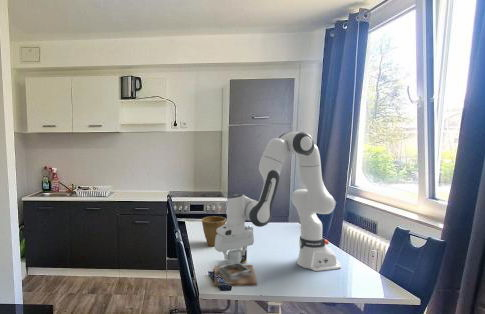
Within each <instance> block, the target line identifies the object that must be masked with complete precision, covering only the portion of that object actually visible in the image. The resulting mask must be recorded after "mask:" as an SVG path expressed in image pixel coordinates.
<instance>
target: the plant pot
mask: <svg viewBox="0 0 485 314" xmlns="http://www.w3.org/2000/svg"><path fill="white" fill-rule="evenodd" d="M226 220H227V217H223V216H215V215H214V216H205V217H203V218H202V219H201V224H202V230H203V233H204V238H205V240H206V243H207V245H208V246H210V247H215V238H216V235H217V234H218V233H217V232H216V231H217V228H219V227H221V226H223V225H224V224H226Z"/></svg>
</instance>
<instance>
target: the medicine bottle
mask: <svg viewBox="0 0 485 314" xmlns="http://www.w3.org/2000/svg"><path fill="white" fill-rule="evenodd" d="M236 249H237V250H242V249H243V247H240V248H236ZM247 251H248V248H247V249H246V251H245V255H243V256H242V260H241V261H240V263H241V264H245V263H247V262H248V261H247V260H248V258H247V257H248V252H247Z"/></svg>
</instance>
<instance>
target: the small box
mask: <svg viewBox="0 0 485 314" xmlns="http://www.w3.org/2000/svg"><path fill="white" fill-rule="evenodd" d="M227 255H229V259H227V263H228V264H231V263H234V264H239V263H240V261H241V260H242V250H237V249H231V250H228V251H227Z"/></svg>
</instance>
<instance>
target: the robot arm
mask: <svg viewBox="0 0 485 314" xmlns="http://www.w3.org/2000/svg"><path fill="white" fill-rule="evenodd" d="M289 154H291V155H297V157H298V167H299V169H298V170H299V180H300V182H301V183H302V184H303V185H304V187H305V188H301V189H300V188H298V189H296V190H294V191H293V193H292V195H291V202H292V204H293V206H294V207H295V209H296V210H297V214H298V217H299V221H300V236H299V241H298V243H299V253H298V257H297V259H296V263H297V265H298V266H300V267H302V268H305V269H309V270H312V271H314V272H320V271H329V270H337V269H338V270H339V269H341V268H342V264H341V262H340V261H339V260H337V255H336V253H335V252H334V251H333V250H332V249H331V248H330V247H329V246H327V245H329V243H330V242H329V240H328V239H326V238H324V237H323V223H322V221H321V220H320V218H319V217H318V215H317V214H319V215H331V214H332V213H333V211H334V209H335V207H336V201H335V198H334V197H333V195H332V194H330V193H329V191H328V190H327V188H326V186H325V184H324V180H323V174H322V173H323V172H322V163H321V155H320V150H319V148H318V146H317V145H316V144H315V143H314V139H313V137H312V136H311V134H309V133H307V132H305V131H304V132H303V131H292V132H284V133H282V134H281V135H280V136H279V137H274V138H272V139H270V140H269V142H268V143H267V145H266V147H265V149H264V150H263V153H262V155H261V158H260V161H259V165H258V171H259V173H260V175H261V176H262V180H263V187H262V190H261V192H260V196H259V199H258V201H257V200H256V199H253V198H250V197H248V196H246V195H245V194H244V193H233V194H230V195H229V196H228V198H227V200H226V223H225V224H224V225H223V226H221V227H219V228H217V231H216V232H217V233H218V234H217V235H216V238H215V246H214V250H215V251H217V252H219V253H220V252H222V253H223V255H224V260H225V261H228V259H229V255H228V251H230V250H231V249H236V248H240V247H243V249H242V256H243V255H245V251H246V249H247V250H248V247H249V246H252V245H253V244H254V243H255V238H254V237H255V236H254V228H253V226H251V225H248V226H247V225H246V220H247V221H248V220H249V222H251V224H252V225H254V226H255V227H259V228H261V227H265V226H267V225H268V224H269V223H270V222H271V219H272V215H273V204H274V201H275V197H276V193H277V190H278V186H279V183H280V182H279V181H280V175H281V172H282V168H283V166H284V162H285V161H286V157H287V156H288V155H289Z"/></svg>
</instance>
